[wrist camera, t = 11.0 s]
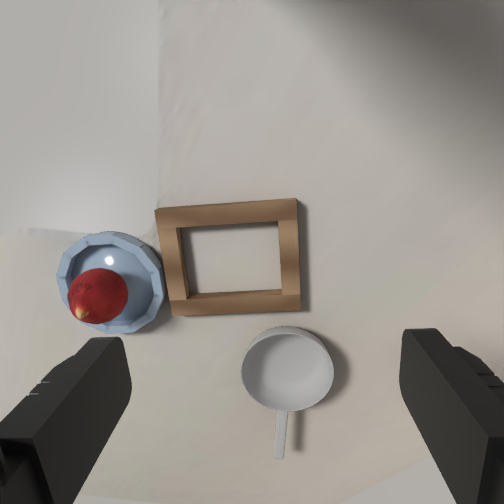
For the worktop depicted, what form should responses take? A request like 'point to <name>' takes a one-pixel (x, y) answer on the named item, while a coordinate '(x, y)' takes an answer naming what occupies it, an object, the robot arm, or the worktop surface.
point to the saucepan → (286, 374)
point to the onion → (97, 296)
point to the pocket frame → (220, 215)
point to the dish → (127, 266)
